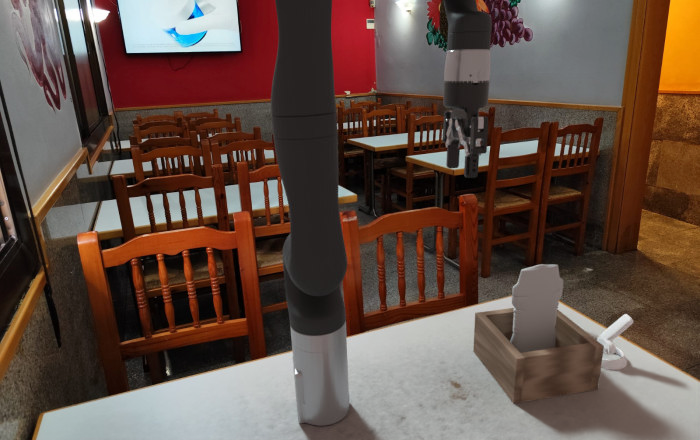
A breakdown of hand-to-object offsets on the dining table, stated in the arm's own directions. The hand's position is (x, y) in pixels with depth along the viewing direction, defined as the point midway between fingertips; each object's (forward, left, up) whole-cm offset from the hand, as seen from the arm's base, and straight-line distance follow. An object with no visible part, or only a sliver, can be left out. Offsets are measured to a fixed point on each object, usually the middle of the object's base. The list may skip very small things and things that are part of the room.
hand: (461, 172), depth 86 cm
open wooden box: (+13, -7, -38) cm, 41 cm away
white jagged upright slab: (+13, -7, -39) cm, 41 cm away
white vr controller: (+29, -7, -39) cm, 49 cm away
